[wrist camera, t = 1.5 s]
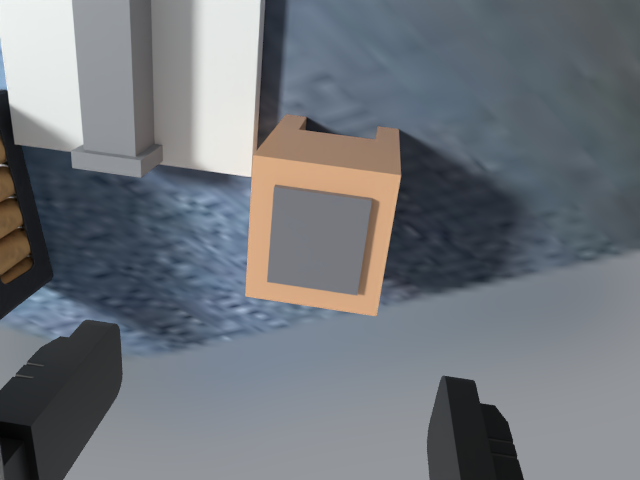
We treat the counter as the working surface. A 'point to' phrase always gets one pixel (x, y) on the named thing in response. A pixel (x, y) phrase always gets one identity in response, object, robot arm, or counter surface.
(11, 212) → the ammunition clip
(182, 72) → the rail board
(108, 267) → the counter surface
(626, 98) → the counter surface
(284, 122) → the block
